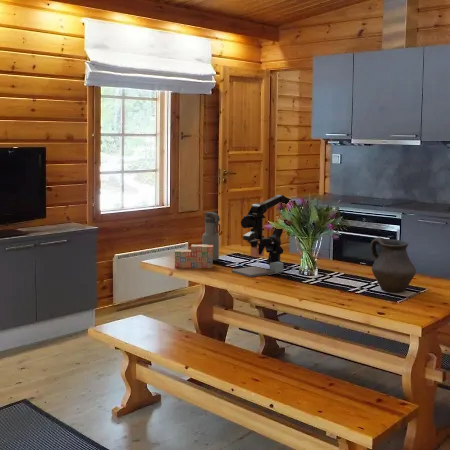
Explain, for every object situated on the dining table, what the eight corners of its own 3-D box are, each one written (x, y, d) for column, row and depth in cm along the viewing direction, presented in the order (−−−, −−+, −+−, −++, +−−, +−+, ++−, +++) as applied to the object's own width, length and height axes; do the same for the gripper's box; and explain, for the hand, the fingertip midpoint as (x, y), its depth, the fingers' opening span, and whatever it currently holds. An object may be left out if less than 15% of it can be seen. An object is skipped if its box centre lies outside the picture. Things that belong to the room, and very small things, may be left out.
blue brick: (277, 270, 351) (277, 261, 350) (283, 272, 347) (283, 263, 347) (269, 272, 347) (269, 263, 347) (275, 273, 344) (275, 264, 343)
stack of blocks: (174, 267, 357) (174, 246, 355) (175, 265, 363) (175, 244, 361) (212, 268, 356) (213, 246, 355) (213, 265, 363) (213, 244, 361)
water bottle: (222, 258, 382) (222, 212, 378) (213, 261, 374) (213, 214, 370) (208, 257, 388) (208, 211, 384) (199, 259, 379) (199, 212, 375)
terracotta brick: (258, 254, 362) (258, 246, 362) (263, 256, 359) (263, 247, 358) (250, 256, 359) (250, 247, 358) (255, 257, 355) (255, 248, 355)
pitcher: (407, 297, 294) (409, 244, 291) (361, 291, 306) (363, 239, 302) (419, 288, 311) (422, 238, 308) (376, 282, 323) (378, 234, 319)
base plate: (254, 268, 356) (254, 266, 356) (273, 273, 343) (273, 271, 343) (231, 272, 346) (231, 269, 346) (250, 277, 334) (250, 275, 333)
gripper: (235, 225, 359) (235, 253, 361) (257, 229, 344) (257, 258, 347) (251, 224, 366) (250, 251, 368) (272, 228, 351) (272, 256, 353)
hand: (257, 254), depth 359 cm, fingers closed on terracotta brick, 4 cm apart
